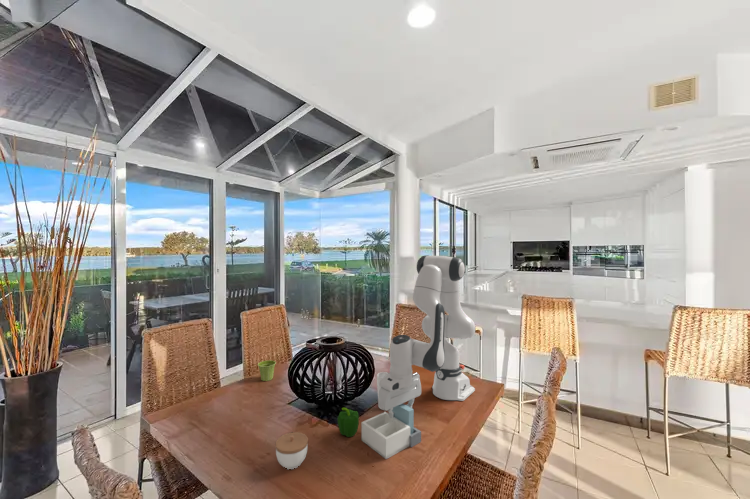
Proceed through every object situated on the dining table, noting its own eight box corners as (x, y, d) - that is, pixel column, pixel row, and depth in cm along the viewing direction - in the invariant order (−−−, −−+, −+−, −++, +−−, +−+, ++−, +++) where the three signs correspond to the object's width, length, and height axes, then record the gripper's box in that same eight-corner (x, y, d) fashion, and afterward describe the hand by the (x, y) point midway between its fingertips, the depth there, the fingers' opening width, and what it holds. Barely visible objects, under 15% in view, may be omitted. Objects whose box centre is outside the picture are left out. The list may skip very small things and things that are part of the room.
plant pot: (255, 378, 180) (254, 363, 180) (271, 374, 187) (271, 358, 186) (262, 384, 173) (262, 368, 173) (279, 379, 180) (278, 363, 179)
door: (393, 427, 133) (393, 398, 133) (413, 440, 125) (413, 409, 125) (388, 430, 132) (389, 400, 131) (408, 443, 123) (408, 411, 123)
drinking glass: (390, 412, 145) (390, 378, 145) (375, 410, 147) (375, 377, 146) (392, 404, 152) (392, 372, 152) (378, 403, 153) (378, 371, 153)
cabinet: (392, 423, 136) (392, 406, 136) (421, 441, 124) (421, 423, 124) (359, 439, 126) (359, 421, 125) (388, 460, 113) (388, 440, 113)
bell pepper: (363, 431, 131) (363, 406, 131) (351, 442, 124) (351, 415, 124) (346, 425, 135) (346, 401, 135) (333, 435, 128) (333, 409, 128)
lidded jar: (279, 454, 117) (279, 428, 117) (309, 452, 118) (309, 426, 117) (272, 475, 106) (272, 446, 106) (306, 473, 107) (305, 445, 107)
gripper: (413, 368, 137) (413, 401, 137) (375, 382, 124) (375, 418, 124) (425, 373, 132) (424, 407, 132) (387, 388, 119) (387, 426, 119)
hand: (400, 413), depth 128 cm, fingers open, 8 cm apart
